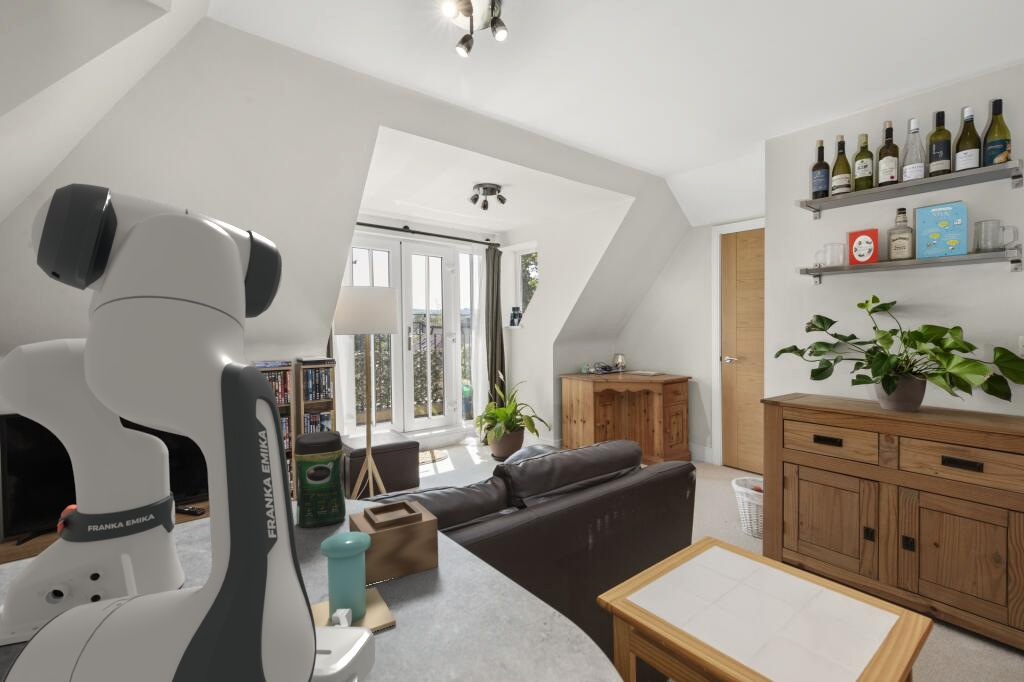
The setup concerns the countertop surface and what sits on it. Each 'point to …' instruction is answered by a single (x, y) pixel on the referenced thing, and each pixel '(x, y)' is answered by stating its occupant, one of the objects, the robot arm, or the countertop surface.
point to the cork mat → (373, 619)
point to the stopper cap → (346, 572)
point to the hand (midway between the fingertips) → (304, 614)
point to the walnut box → (397, 539)
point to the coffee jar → (319, 479)
